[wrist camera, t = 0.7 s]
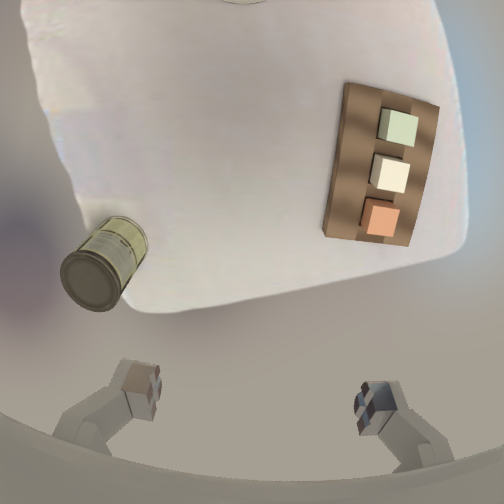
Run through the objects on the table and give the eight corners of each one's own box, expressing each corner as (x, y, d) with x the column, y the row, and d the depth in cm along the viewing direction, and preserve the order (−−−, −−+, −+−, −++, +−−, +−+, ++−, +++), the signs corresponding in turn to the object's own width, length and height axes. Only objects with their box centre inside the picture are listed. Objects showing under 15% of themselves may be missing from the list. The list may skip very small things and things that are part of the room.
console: (345, 83, 41) (350, 82, 39) (430, 105, 41) (439, 106, 39) (322, 229, 52) (325, 237, 50) (402, 239, 52) (408, 246, 50)
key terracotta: (366, 197, 46) (373, 205, 43) (391, 201, 46) (399, 209, 43) (360, 224, 48) (366, 233, 45) (385, 227, 48) (392, 236, 45)
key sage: (382, 108, 40) (391, 109, 37) (408, 115, 40) (418, 117, 37) (377, 137, 42) (386, 140, 39) (403, 142, 42) (413, 146, 39)
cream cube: (374, 153, 43) (383, 158, 40) (400, 159, 43) (410, 164, 40) (369, 181, 45) (377, 188, 42) (395, 186, 45) (403, 193, 42)
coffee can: (144, 273, 57) (117, 321, 45) (96, 258, 56) (61, 300, 44) (152, 224, 53) (121, 265, 40) (100, 209, 52) (59, 244, 39)
